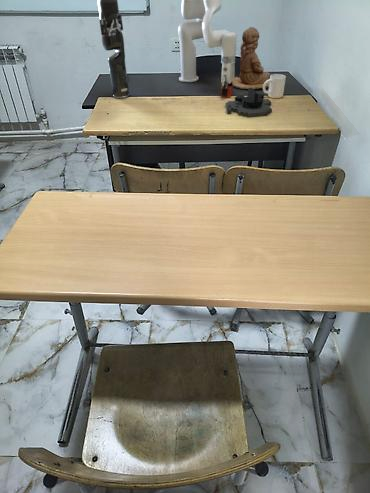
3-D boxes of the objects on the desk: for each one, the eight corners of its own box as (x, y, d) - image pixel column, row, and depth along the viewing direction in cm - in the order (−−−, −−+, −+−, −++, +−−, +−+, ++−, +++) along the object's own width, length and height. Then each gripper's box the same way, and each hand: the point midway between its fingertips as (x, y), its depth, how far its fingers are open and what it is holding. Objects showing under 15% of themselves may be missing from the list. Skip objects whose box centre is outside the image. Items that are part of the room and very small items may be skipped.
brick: (229, 97, 200) (230, 89, 197) (220, 96, 201) (221, 88, 198) (232, 94, 203) (232, 86, 200) (223, 93, 205) (223, 85, 202)
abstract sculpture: (232, 99, 169) (222, 86, 184) (231, 118, 175) (221, 105, 190) (283, 94, 172) (268, 83, 187) (280, 114, 178) (266, 101, 193)
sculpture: (274, 90, 207) (281, 30, 187) (232, 91, 207) (235, 31, 188) (266, 76, 228) (272, 21, 208) (228, 77, 228) (231, 23, 209)
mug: (263, 99, 195) (266, 79, 188) (259, 94, 201) (261, 75, 194) (285, 97, 196) (288, 77, 189) (279, 93, 202) (282, 73, 196)
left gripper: (106, 2, 143) (113, 48, 153) (124, -2, 153) (129, 41, 163) (91, 2, 145) (98, 47, 156) (109, -2, 155) (115, 40, 166)
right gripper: (230, 63, 183) (228, 98, 194) (239, 56, 195) (237, 89, 206) (216, 62, 185) (215, 97, 196) (226, 55, 197) (225, 88, 209)
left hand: (114, 44), depth 160 cm, fingers open, 8 cm apart
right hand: (226, 93), depth 201 cm, fingers open, 8 cm apart
